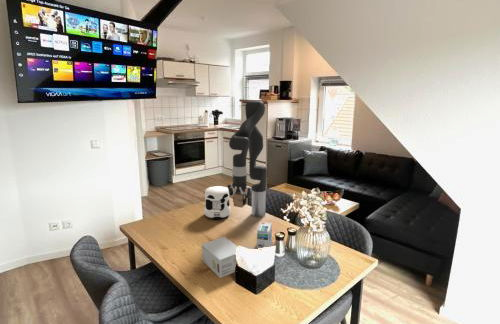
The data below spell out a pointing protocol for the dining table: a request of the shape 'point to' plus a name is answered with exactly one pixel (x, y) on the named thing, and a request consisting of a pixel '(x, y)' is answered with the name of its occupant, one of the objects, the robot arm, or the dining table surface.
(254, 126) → the robot arm
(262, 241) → the light bulb box
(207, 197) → the milk container
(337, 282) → the dining table surface
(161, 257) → the dining table surface
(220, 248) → the supplement box
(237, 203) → the walnut block
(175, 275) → the dining table surface
